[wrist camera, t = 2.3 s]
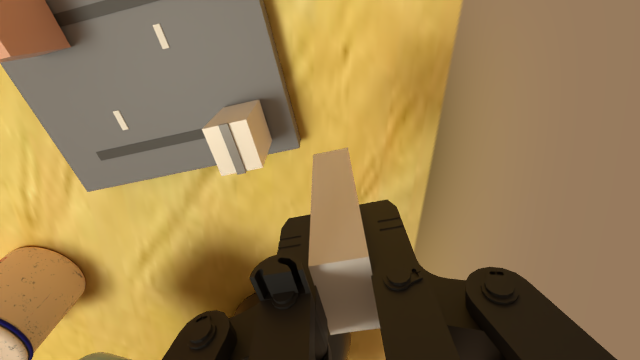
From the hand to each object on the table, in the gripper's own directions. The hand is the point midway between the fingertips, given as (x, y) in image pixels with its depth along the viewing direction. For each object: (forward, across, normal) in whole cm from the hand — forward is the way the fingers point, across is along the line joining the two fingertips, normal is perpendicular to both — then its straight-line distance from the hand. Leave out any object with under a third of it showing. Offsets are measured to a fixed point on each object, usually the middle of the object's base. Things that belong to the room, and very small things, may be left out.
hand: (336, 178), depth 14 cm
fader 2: (+12, +7, 0) cm, 14 cm away
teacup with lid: (+14, +37, +14) cm, 42 cm away
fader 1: (+12, +19, -10) cm, 24 cm away
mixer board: (+14, +13, -5) cm, 20 cm away
